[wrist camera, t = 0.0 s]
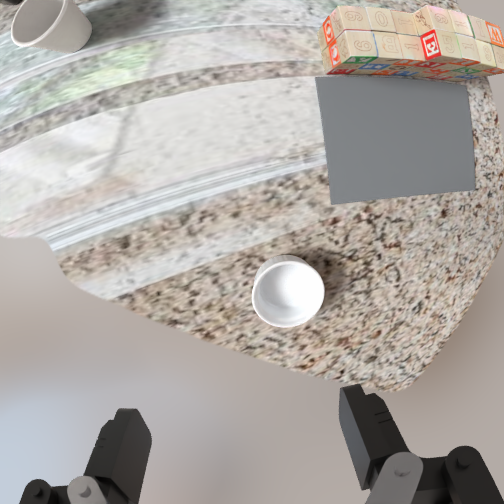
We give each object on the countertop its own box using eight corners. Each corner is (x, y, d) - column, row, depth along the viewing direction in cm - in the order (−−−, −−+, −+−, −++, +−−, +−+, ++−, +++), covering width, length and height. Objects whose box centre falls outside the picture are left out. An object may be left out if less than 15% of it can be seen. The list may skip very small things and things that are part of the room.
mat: (315, 77, 33) (315, 77, 33) (464, 85, 33) (466, 85, 32) (331, 204, 38) (332, 204, 38) (473, 189, 38) (475, 190, 38)
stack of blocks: (324, 76, 33) (360, 47, 21) (315, 32, 31) (345, -10, 19) (457, 82, 33) (513, 72, 21) (448, 44, 31) (501, 25, 19)
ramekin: (266, 239, 39) (270, 250, 35) (328, 264, 41) (337, 276, 37) (240, 299, 42) (240, 315, 38) (299, 319, 43) (305, 336, 39)
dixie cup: (112, 26, 29) (80, -2, 20) (69, 73, 31) (28, 58, 21) (80, 1, 27) (47, -25, 18) (41, 45, 29) (1, 29, 19)
